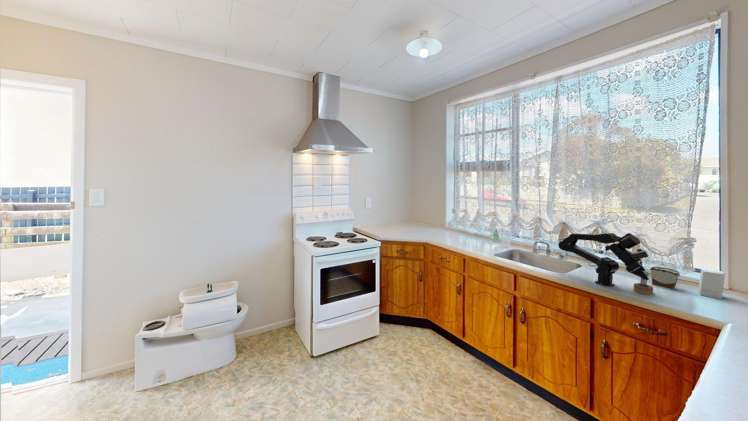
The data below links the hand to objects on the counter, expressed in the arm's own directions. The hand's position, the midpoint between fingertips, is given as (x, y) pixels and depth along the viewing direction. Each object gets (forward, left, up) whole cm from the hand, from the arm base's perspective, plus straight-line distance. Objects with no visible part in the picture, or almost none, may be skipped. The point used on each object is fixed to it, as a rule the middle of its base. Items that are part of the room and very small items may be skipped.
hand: (647, 277), depth 150 cm
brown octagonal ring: (-1, +1, -8) cm, 8 cm away
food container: (+21, +6, -8) cm, 24 cm away
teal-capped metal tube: (-1, +1, -8) cm, 8 cm away
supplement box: (+29, -8, -8) cm, 31 cm away
